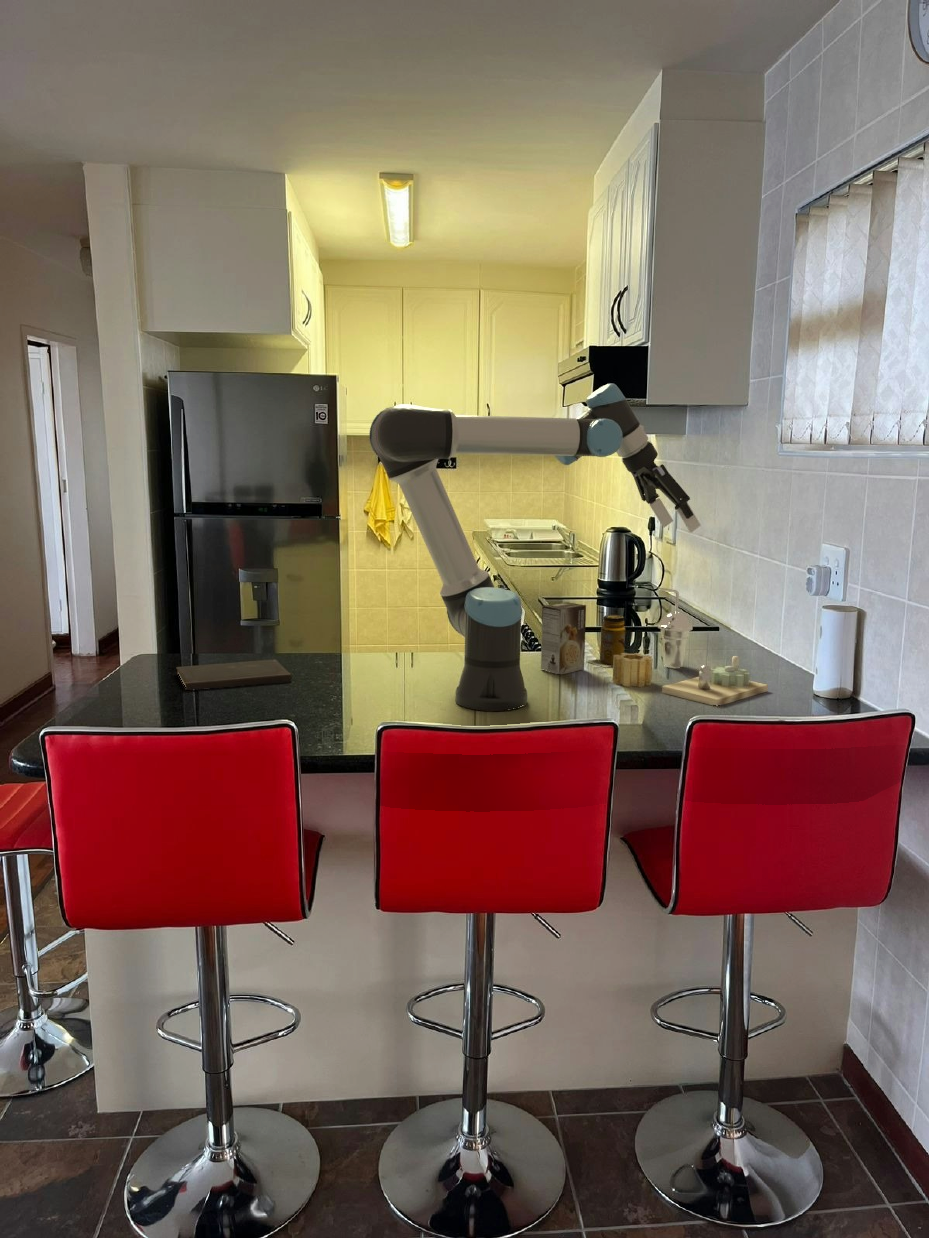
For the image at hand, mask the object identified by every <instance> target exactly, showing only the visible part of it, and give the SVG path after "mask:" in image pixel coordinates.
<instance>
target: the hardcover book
mask: <svg viewBox="0 0 929 1238" xmlns="http://www.w3.org/2000/svg"><path fill="white" fill-rule="evenodd" d="M176 670H177V675H178V674H179V676H180V678H181V679H180V678H179V679H180V681H181V680H182V681H181V683H182V682H183V683H182V685H183V684H184V685H185V687H186V688H185V687H184V688H185V691H186V690H193V689H203V688H219V689H224V688H223V687H230V688H233V687H232V686H241V687H244V686H243V685H252V686H258V685H257V684H264V685H273V684H283V683H285V682H286V683H292V674H291V673H290V672H289V671H288V669H286V668H285V667H284V666H283V665H282V664H281V663H280V662H279V661H278V660H277V659H275V658H274V659H263V660H252V661H251V660H250V661H249V660H248V661H238V662H226V663H224V662H222V663H214V664H212V663H211V664H210V663H209V664H200V665H190V666H189V665H187V666H176ZM179 676H178V677H179ZM184 685H183V686H184Z"/></svg>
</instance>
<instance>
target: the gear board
mask: <svg viewBox="0 0 929 1238" xmlns="http://www.w3.org/2000/svg"><path fill="white" fill-rule="evenodd" d="M698 681H699V676H696V677H693V678H688V679H684V680H682V681H677V682H673V683H669V684H666V685H662V689H661V692H662V694H665V695H670V696H674V697H678V698H682V699H685V700H689V701H693V702H698V703H702V704H706V705H708V706H709V705H710V706H713V705H716V706H715V707H719V706H718V705H720V706H724V705H726V704H730V703H733V702H735V701H736V702H737V701H740V700H743V699H746V698H751V697H753V696H755V695H759V694H762V693H766V692H768V689H769V688H768V686H769V684H765V683H760V682H756V681H752V680H749V684H748V685H744V684H743V687H737V686H728V687H727V686H722V685H721V684H713V683H711V685H710V690H701V689H698Z"/></svg>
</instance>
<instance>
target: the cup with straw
mask: <svg viewBox="0 0 929 1238" xmlns="http://www.w3.org/2000/svg"><path fill="white" fill-rule="evenodd" d="M656 590H657V591H662V592H669V593H674V594H675V603H674V604H675V607H674V611H670V612H668V613H666V614H665V615H664V616H663V617H662V619H661V622H659V623H658V625H657V628H658V629H660V635H661V636H660V637H661V643H662V658H663V667H664V668H667V667H668V669H681V668H680V667H682V668H683V663H684V659H685V653H686V648H687V647H686V646H687V643H688V639H689V636H690V631H692V630H693V625H692V624H691V623H690V620H689V618H688V616H687V615H686V614H685V613H683V612H681V611H679V601H680V600H679V599H680V593H679V592H678V590H677V589H672V588H665V587H660V586H657V588H656Z"/></svg>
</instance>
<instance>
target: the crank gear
mask: <svg viewBox="0 0 929 1238" xmlns="http://www.w3.org/2000/svg"><path fill="white" fill-rule="evenodd" d="M739 659H740V657H739V656H737V655H734V656H732V658H731V665H725V666H724V667H723V666H714V667H715V668H712V667H710V668H711V683H713V684H721V685H722V686H727V687H728V686H737V687H743V684H744V685H748V684H749V681H750V674H751V673H750V672H748V670H747V669H741V668H740V669H739Z"/></svg>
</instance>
